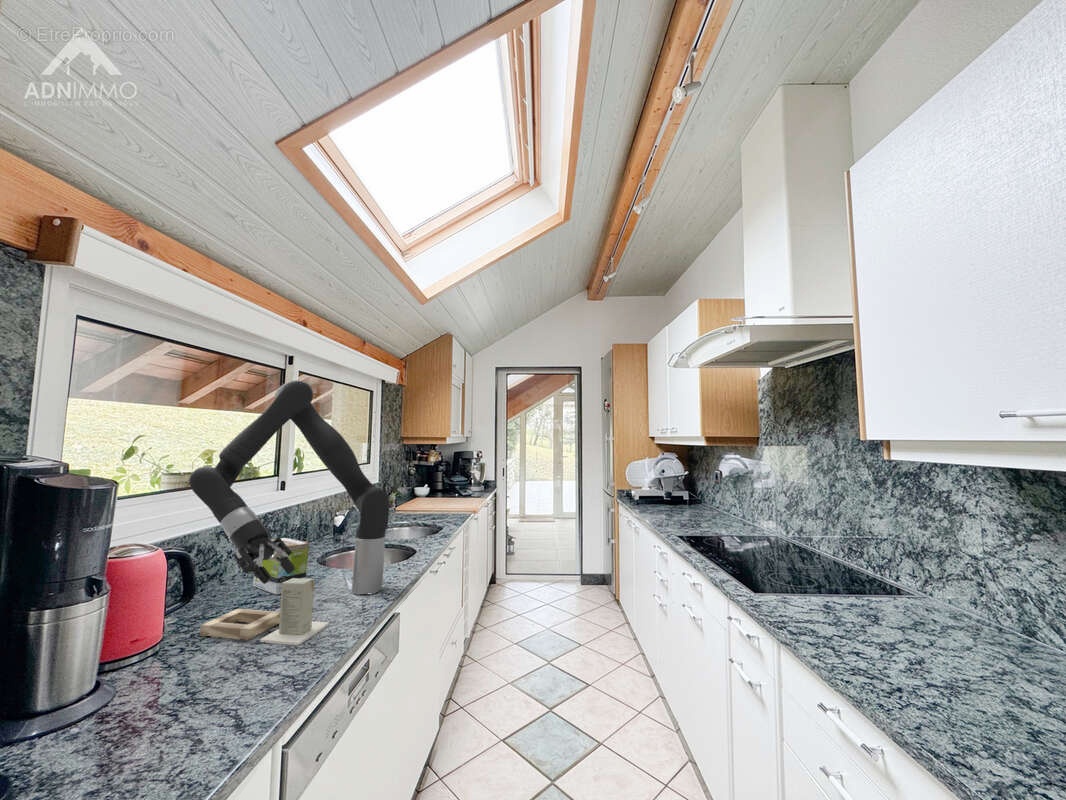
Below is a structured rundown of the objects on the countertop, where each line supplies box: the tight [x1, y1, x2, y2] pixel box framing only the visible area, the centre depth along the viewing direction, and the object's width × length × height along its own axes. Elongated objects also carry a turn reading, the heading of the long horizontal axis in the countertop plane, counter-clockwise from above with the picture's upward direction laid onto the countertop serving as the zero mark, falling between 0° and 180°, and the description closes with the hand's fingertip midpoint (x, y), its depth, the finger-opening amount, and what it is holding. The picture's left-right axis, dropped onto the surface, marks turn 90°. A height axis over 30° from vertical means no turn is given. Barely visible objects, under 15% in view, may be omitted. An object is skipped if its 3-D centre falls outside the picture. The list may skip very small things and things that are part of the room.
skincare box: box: [278, 578, 315, 634], centre depth 108 cm, size 6×4×12 cm
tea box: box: [252, 537, 310, 596], centre depth 142 cm, size 15×10×15 cm, turn 58°
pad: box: [259, 620, 330, 646], centre depth 107 cm, size 12×10×1 cm
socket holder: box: [199, 608, 280, 641], centre depth 109 cm, size 11×13×2 cm
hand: (280, 576), depth 109 cm, fingers open, 8 cm apart
